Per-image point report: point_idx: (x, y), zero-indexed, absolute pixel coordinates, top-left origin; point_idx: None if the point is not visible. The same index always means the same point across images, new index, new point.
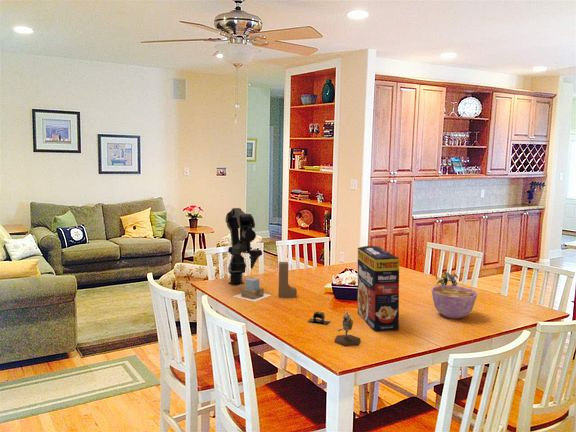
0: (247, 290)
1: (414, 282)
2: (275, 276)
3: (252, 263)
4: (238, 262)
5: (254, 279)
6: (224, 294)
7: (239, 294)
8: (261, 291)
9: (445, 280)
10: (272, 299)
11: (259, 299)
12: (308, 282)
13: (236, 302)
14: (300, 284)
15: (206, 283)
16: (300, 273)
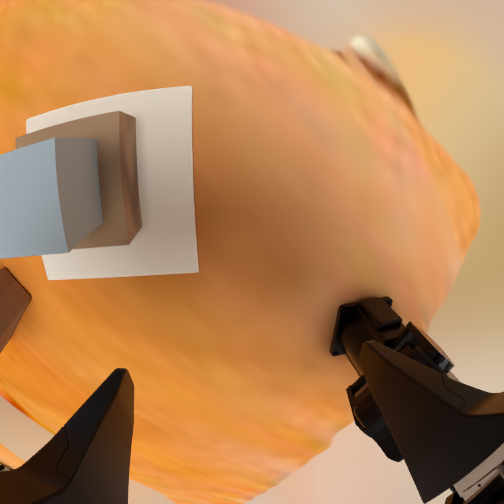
0: (61, 123)
1: None
2: (277, 453)
3: (73, 426)
4: (384, 385)
5: (4, 211)
6: (283, 104)
7: (185, 151)
8: None
9: None
10: None
11: None
12: (141, 461)
13: (102, 36)
14: (135, 445)
15: (458, 231)
16: (236, 485)
